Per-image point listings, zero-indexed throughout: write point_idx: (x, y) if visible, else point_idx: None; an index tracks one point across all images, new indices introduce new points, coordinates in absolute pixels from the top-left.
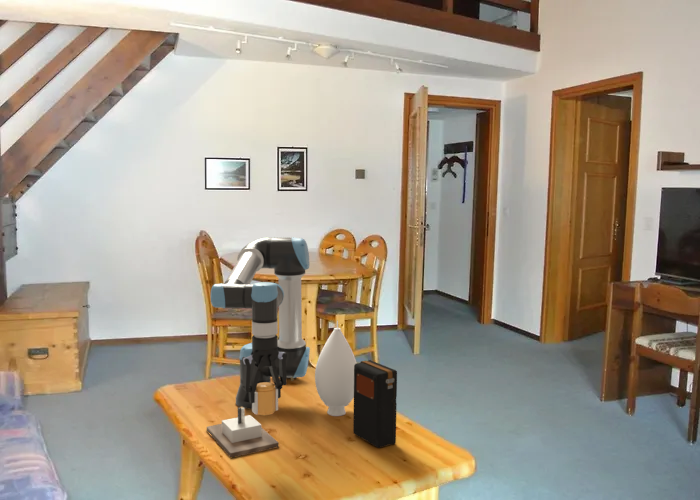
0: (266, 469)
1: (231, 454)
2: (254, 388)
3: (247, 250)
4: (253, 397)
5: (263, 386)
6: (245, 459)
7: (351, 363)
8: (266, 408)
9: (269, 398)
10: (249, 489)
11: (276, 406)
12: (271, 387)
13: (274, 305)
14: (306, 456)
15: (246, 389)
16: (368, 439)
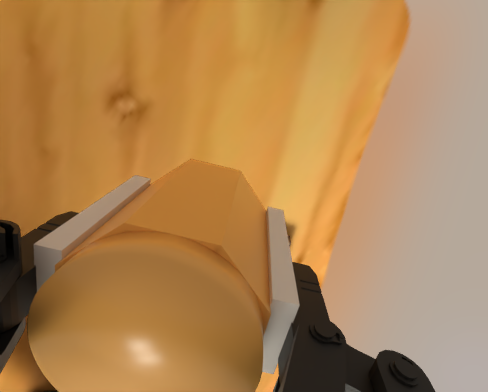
0: (260, 109)
1: (288, 239)
2: (314, 353)
3: None
4: (297, 290)
5: (177, 341)
6: (265, 203)
7: None
8: (224, 181)
9: (185, 199)
10: (383, 31)
11: (135, 185)
12: (109, 258)
13: None
14: (114, 95)
15: (422, 381)
16: None
